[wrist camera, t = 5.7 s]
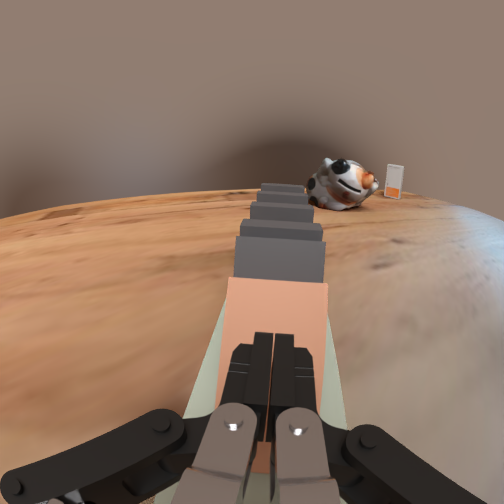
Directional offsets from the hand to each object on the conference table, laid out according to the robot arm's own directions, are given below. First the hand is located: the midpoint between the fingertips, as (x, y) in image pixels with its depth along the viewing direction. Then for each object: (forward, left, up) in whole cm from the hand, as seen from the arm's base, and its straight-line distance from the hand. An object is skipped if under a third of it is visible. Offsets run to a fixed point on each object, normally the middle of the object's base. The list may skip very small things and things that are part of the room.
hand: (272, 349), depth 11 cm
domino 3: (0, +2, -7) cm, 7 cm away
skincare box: (-56, -82, -8) cm, 99 cm away
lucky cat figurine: (-26, -61, -8) cm, 67 cm away
